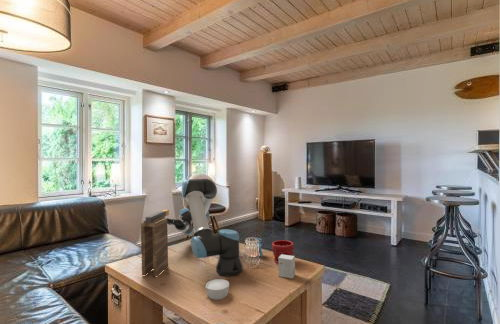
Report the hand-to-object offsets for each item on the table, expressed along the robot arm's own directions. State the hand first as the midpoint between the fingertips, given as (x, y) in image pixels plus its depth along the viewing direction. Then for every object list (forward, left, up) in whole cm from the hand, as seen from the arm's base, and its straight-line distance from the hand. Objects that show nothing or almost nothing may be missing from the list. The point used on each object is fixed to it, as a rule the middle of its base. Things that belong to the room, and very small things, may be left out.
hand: (169, 216), depth 171 cm
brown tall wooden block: (0, +19, -28) cm, 34 cm away
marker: (0, +15, +2) cm, 15 cm away
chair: (-54, -14, -28) cm, 63 cm away
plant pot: (-72, -6, -28) cm, 78 cm away
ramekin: (-43, +38, -28) cm, 65 cm away
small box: (-75, +13, -28) cm, 82 cm away
